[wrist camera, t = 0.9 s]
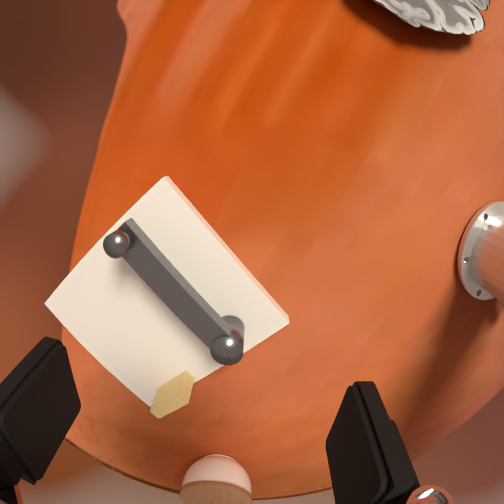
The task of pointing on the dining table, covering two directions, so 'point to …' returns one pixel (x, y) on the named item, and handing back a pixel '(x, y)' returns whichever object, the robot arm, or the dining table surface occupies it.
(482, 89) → the dining table surface
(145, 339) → the door board
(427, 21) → the brain slice
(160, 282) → the bar
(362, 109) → the dining table surface
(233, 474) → the lidded jar
